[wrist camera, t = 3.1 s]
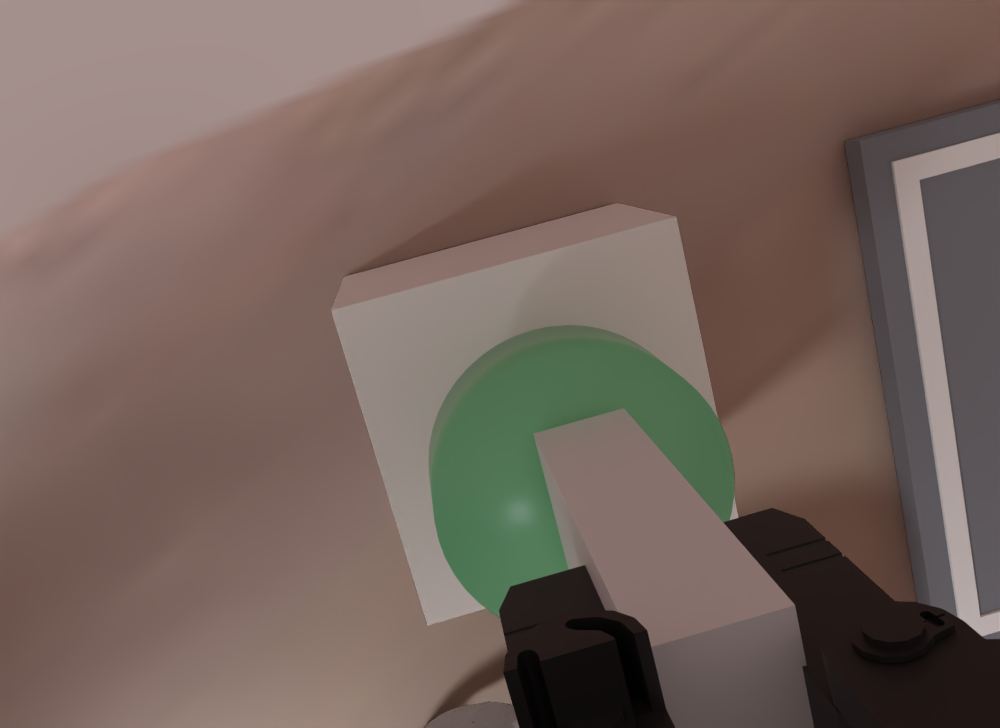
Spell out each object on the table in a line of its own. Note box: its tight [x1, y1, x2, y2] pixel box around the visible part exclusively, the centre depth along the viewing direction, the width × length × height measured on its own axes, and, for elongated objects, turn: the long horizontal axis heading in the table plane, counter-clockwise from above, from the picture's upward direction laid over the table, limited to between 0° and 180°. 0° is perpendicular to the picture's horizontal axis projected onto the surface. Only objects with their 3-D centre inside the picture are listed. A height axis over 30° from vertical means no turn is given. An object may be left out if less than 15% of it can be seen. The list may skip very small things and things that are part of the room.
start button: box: [428, 325, 734, 617], centre depth 16 cm, size 5×5×2 cm
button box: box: [331, 203, 738, 626], centre depth 21 cm, size 7×7×5 cm
